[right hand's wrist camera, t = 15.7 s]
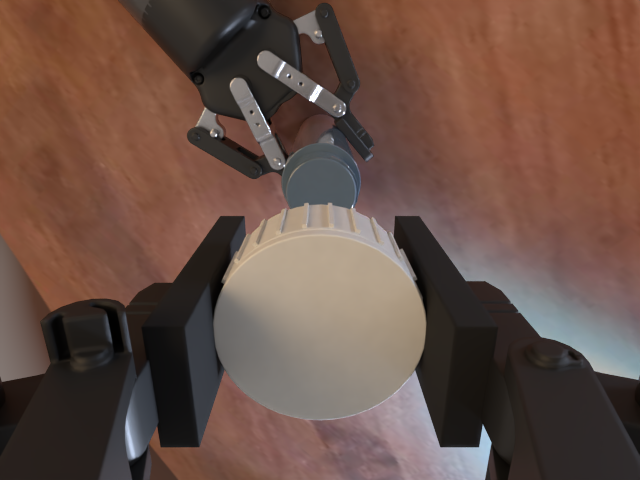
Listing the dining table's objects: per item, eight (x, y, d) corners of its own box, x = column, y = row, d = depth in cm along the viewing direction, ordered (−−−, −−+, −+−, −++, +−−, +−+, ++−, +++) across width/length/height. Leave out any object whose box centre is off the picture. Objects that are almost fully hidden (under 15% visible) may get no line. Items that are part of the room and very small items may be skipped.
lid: (375, 171, 11) (389, 195, 9) (432, 332, 12) (456, 386, 10) (197, 240, 11) (169, 278, 9) (274, 384, 13) (264, 446, 11)
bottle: (332, 168, 40) (342, 246, 22) (290, 150, 40) (264, 215, 21) (351, 125, 39) (379, 171, 21) (308, 106, 38) (297, 135, 20)
